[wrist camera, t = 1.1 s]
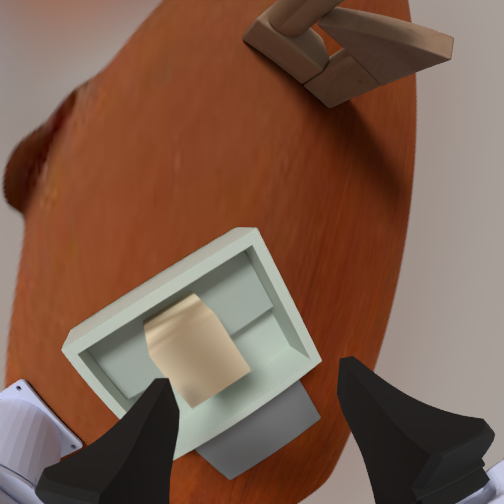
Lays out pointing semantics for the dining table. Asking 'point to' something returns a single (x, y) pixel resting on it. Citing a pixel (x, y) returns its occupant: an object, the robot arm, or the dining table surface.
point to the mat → (261, 432)
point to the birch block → (193, 349)
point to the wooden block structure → (344, 47)
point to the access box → (231, 317)
